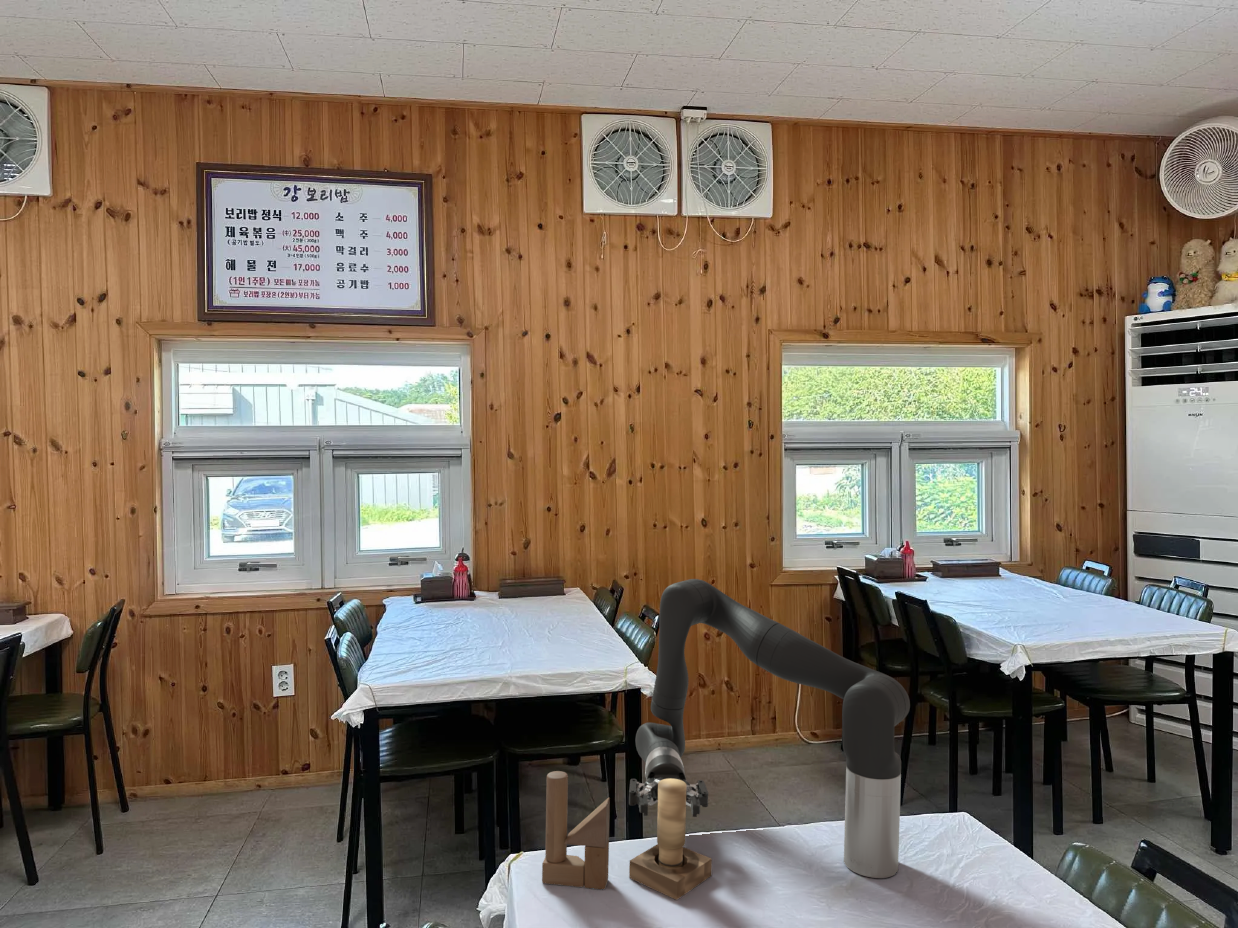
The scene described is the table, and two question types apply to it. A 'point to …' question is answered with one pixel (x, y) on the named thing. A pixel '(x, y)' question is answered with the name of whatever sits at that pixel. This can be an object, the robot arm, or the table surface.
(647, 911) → the table surface
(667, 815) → the oak leg
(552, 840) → the wooden block
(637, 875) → the square wooden ring
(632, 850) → the table surface
